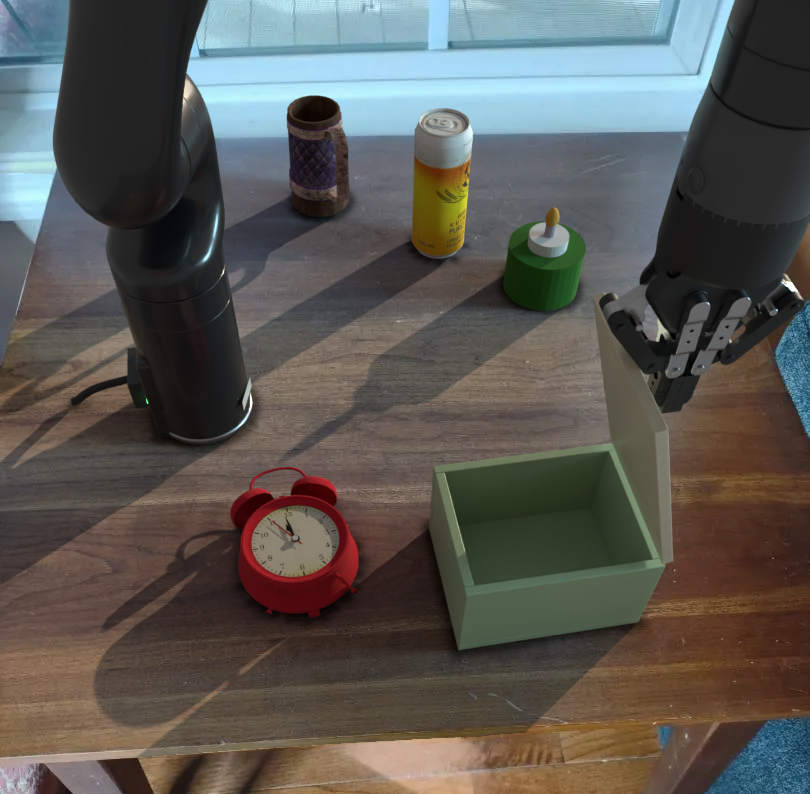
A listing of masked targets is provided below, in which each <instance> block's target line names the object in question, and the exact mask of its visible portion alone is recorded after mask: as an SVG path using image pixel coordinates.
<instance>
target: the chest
mask: <svg viewBox="0 0 810 794" xmlns="http://www.w3.org/2000/svg"><path fill="white" fill-rule="evenodd" d="M428 529H429V533H430V539H431V541H432V546H433V550H434V554H435V559H436V562H437V567H438V571H439V575H440V579H441V584H442V588H443V592H444V596H445V600H446V605H447V609H448V613H449V617H450V621H451V622H450V623H451V625H452V629H453V634H454V638H455V642H456V646H457V650H458V651H463V650H467V649H475V648H480V647H487V646H494V645H501V644H506V643H514V642H518V641H528V640H532V639H539V638H540V639H541V638H546V637H552V636H558V635H565V634H572V633H578V632H579V633H580V632H584V631H590V630H592V631H593V630H597V629H604V628H611V627H616V626H623V625H629V624H637V623H639V621H640V619H641V617H642V615H643V613H644V611H645V609H646V607H647V605H648V603H649V601H650V599H651V597H652V595H653V593H654V591H655V589H656V587H657V585H658V583H659V580H660V578H661V577H662V574H663V572H664V571H665V568H666V563H665V564H662V563H661V560H660V558H659V555H658V553H657V551H656V548H655V546H654V543H653V541H652V538H651V536H650V534H649V531H648V529H647V526H646V524H645V522H644V519H643V517H642V514H641V512H640V509H639V507H638V505H637V502H636V500H635V497H634V495H633V492H632V490H631V488H630V485H629V483H628V480H627V478H626V476H625V473H624V471H623V468H622V466H621V463H620V461H619V459H618V456H617V454H616V451H615V449H614V447H613V444H612V442H611V443H602V444H593V445H587V446H580V447H572V448H564V449H563V448H562V449H555V450H547V451H541V452H533V453H523V454H518V455H517V454H516V455H510V456H502V457H494V458H487V459H486V458H485V459H479V460H469V461H463V462H455V463H447V464H440V465H434V466H433V467H432V481H431V494H430V510H429V525H428Z"/></svg>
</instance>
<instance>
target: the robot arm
mask: <svg viewBox="0 0 810 794" xmlns="http://www.w3.org/2000/svg"><path fill="white" fill-rule="evenodd" d="M68 1H69V2H68V17H67V31H66V41H65V49H64V54H63V62H62V70H61V77H60V84H59V90H58V97H57V103H56V110H55V116H54V122H53V131H52V151H53V157H54V162H55V165H56V168H57V171H58V174H59V177H60V179H61V182H62V183H63V185H64V187H65V189H66V190H67V192H68V193H69V194H70V196H71V198H72V199H73V200H74V202H75V203H76V204H77V205H78V206H79V207H80V209H82V211H84V212H85V213H86V214H87V215H89V216H90V217H91V218H93V219H94V220H95V221H97V222H99V223H100V224H102V225H105V226H107V227H108V229H107V234H106V235H107V236H106V239H105V240H106V241H105V253H106V259H107V263H108V266H109V269H110V273H111V275H112V276H111V277H112V279H113V282H114V284H115V287H116V290H117V293H118V296H119V300H120V303H121V306H122V309H123V311H124V315H125V318H126V321H127V324H128V325H127V326H128V327H129V331H130V334H131V338H132V341H133V343H134V344H133V345H134V346H135V347H134V346H133V347H128V348H127V349H126V355H127V357H126V358H127V360H126V362H127V363H126V365H127V366H126V368H127V369H126V375H123V376H119V377H115V378H111V379H108V380H104V381H101V382H97V383H95V384H92V385H90V386H88V387H85V388H84V389H83V390H81V391H80V392H79V393H78V394H76V395H75V396H71V399H70V403H71V404H70V405H72V406H78V405H79V404H82V403H83V402H84V401H86V399H88V398H89V397H91V396H92V395H95V394H96V393H100V392H102V391H105V390H108V389H111V388H116V387H120V386H124V385H127V388H128V391H129V394H130V397H131V400H132V404H133V405H134V408H135V409H144V408H149V411H150V415H151V417H152V420H153V423H154V426H155V429H156V432H157V435H158V438H161V439H163V438H171V439H173V440H175V441H178V442H180V443H183V444H187V445H193V446H194V445H195V446H198V445H199V446H202V445H211V444H216V443H220V442H222V441H225V440H227V439H230V438H231V437H233V436H235V435H236V434H237V433H239V432H240V431H241V430H243V428H245V426H246V425H247V424H248V422H249V420H250V419H251V417H252V413H253V407H254V406H253V404H254V403H253V397H252V393H251V390H252V380H251V378H249V379H248V376H247V370H246V366H245V365H246V364H245V360H244V355H243V349H242V344H241V338H240V334H239V333H240V332H239V328H238V322H237V317H236V311H235V307H234V301H233V294H232V290H231V285H230V279H229V274H228V268H227V263H226V258H225V253H224V235H225V234H224V233H225V225H226V211H225V202H224V195H223V186H222V180H221V179H222V178H221V172H220V171H221V170H220V164H219V157H218V150H217V144H216V143H217V142H216V139H215V138H216V137H215V132H214V128H213V123H212V119H211V116H210V112H209V110H208V107H207V104H206V101H205V100H204V97H203V95H202V93H201V92H200V90H199V87H198V86H197V85H196V83H195V82H194V80H193V79H192V78H191V76H190V75H189V74H188V67H189V63H190V59H191V55H192V49H193V46H194V43H195V39H196V36H197V33H198V30H199V27H200V24H201V22H202V19H203V17H204V14H205V11H206V9H207V6H208V2H209V0H68ZM732 3H733V4H732V5H731V9H730V12H729V15H728V18H727V21H726V25H725V27H724V31H723V34H722V38H721V41H720V43H719V48H718V50H717V53H716V57H715V60H714V64H713V66H712V69H711V70H712V71H711V73H710V77H709V79H708V83H707V85H706V88H705V89H704V92H703V95H702V97H701V99H700V101H699V103H698V105H697V107H696V109H695V112H694V114H693V117H692V120H691V123H690V125H689V129H688V132H687V135H686V139H685V141H684V145H683V147H682V151H681V154H680V158H679V161H678V165H677V169H676V171H675V175H674V177H673V181H672V184H671V188H670V191H669V194H668V197H667V201H666V204H665V208H664V211H663V214H662V217H661V221H660V224H659V227H658V231H657V238H656V245H655V253H654V254H653V257H652V258H651V260H650V261H649V263H648V264H647V265H646V266H645V267H644V268H643V270H642V271H641V273H640V276H639V281H638V282H639V284H638V285H636V286H635V287H634V288H632V289H630V290H629V291H628V292H626V293H624V294H623V295H622V296H620V297H619V295H618V294H617V293H615V292H608V293H605V295H604V296H603V297H602V298H601V299H600V301H599V306H600V308H601V310H602V312H603V315H604V317H605V319H606V321H607V323H608V325H609V328H610V330H611V332H612V334H613V335H614V336H615V337H616V339H617V340H618V341H619V342H620V344H621V345H622V346H623V348H624V349H625V350H626V351H627V353H628V354H629V355H630V356H631V358H632V359H633V360H634V362H635V363H636V364H637V365H638V367H639V368H640V370H641V372H642V374H643V375H647V376H648V378H647V380H646V382H647V385H648V387H649V389H650V391H651V393H652V395H653V397H654V399H655V402H656V404H657V406H658V408H659V410H660V412H661V414H662V415H663V414H669V413H670V414H671V413H678V412H681V411H682V409H683V406H684V405H686V404H688V403H689V402H690V400H691V399H692V398H693V395H694V392H695V390H696V387H697V385H698V383H699V381H700V378H701V376H702V375H704V374H705V373H706V372H707V371H708V370H709V369H710V367H711V365H713V364H716V363H719V362H720V364H721V365H723V366H728V365H731V364H733V363H735V362H736V361H737V360H738V359H740V358H741V357H743V356H744V355H745V354H747V353H748V352H749V351H750V350H752V349H753V348H754V347H755V346H757V345H758V344H760V343H761V342H762V341H763V340H765V339H766V338H767V337H768V336H770V335H771V334H772V333H774V332H775V331H776V330H777V329H779V328H780V327H781V326H783V325H784V324H785V323H787V322H788V321H789V320H791V319H792V318H793V317H794V316H796V315H798V313H800V312H801V311H802V310H803V309H804V308H805V305H806V302H805V301H806V300H804V298H803V297H802V295H801V293H800V292H799V291H798V289H797V287H796V286H795V285H794V282H793V281H792V280H791V278H790V277H789V275H788V274H786V272H787V271H788V269H789V267H790V266H791V264H792V262H793V260H794V257H795V255H796V253H797V251H798V248H799V247H800V244H801V242H802V240H803V238H804V236H805V234H806V231H807V230H808V227H809V225H810V0H733V2H732ZM648 306H650V308H651V309H652V311H653V313H654V314H655V316H656V323H657V335H656V338H655V340H651V339H650V338H649V336H648V335H647V333H646V332H645V331H644V330H643V329H644V325H643V323H644V322H645V320H646V315H645V310H646V308H647V307H648ZM742 326H744V328H745V330H744V331H743V332H742V333H741V334H740V335H739V336H737V337H736V338H735V339H733V340H732V339H731V338H732V336H733V334H734V333H735V332H736V331H737V330H739V329H741V327H742Z"/></svg>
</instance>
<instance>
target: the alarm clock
mask: <svg viewBox="0 0 810 794" xmlns="http://www.w3.org/2000/svg"><path fill="white" fill-rule="evenodd" d="M286 470H288V471H295V472H297V473H299V474H301V476H303V477H301V478H298V479H296V480H295V481H294V482H293V484H292V485H291V488H290V495H284V494H283V495H278V497H277V498H274V497H273V495H272V494H271V492H270V491H268V490H266V489H265V488H262V487H256V488H253V486H254V483H255V481H256V480H258V479H259V478H260V477H262V476H264V475H266V474H270V473H274V472H278V471H286ZM336 488H337V487H336V486H335V485H334V484H333V483H332V482H331V481H330V480H328V479H326V478H324V477H320V476H315V475H309V476H307V474H306V473H305V472H304V471H303V470H301V469H300V468H297V467H295V466H280V467H275V468H271V469H267V470H264V471H262V472H259V473H258V474H257V475H255V476H254V477H253V478H252V479H251V481H250V483H249V490H247V491H244V492H243V493H241V494H240V495H239V496H238V497H237V498H236V499H235V500H233V501H234V502H233V503H232V505H231V506H230V512H229V515H230V519H231V521H232V523H233V525H234V526H235V527H236V528H237V529H238V530H242V533H241V535H240V539H239V549H240V552H239V555H238V558H237V559H238V560H237V566H238V574H239V577H240V582H241V584H242V586H243V587H244V589H245V591H246V592H247V594H249V596H250V597H251V598H252V599H253V600H255V602H257V603H259V604H260V605H261V606H264V607H265V608H267V609H266V615H271V614H272V613H273V611H276V612H278V613H284V614H307V615H308V618H309V619H311V618H315V617H319V616H321V612H320V610H321V609H323V608H326V607H328V606H331V604H333V603H335V602H337V600H339V599H340V598H341V597H343V595H344V594H345V593H347V591H348V590H350V592H351V593H352V594H356V593H357V591H358V590H357V588H356V587H354V588H353V587H352V584H353V582H354V581H355V579H356V576H357V573H358V569H359V550H358V546H357V543H356V541H355V539H354V537H353V535H352V534H351V531H350V526H349V525H348V523H347V521H346V519H345V518H344V516H343V515H342V514H341V512H340V511H339V510H338V509H337V508H336V507H335V506H336V504H337V501H338V490H337V489H336Z"/></svg>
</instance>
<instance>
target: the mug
mask: <svg viewBox="0 0 810 794" xmlns="http://www.w3.org/2000/svg"><path fill="white" fill-rule="evenodd" d="M343 127H344V126H343V115H342V111H341V106H340V104H339V103H338V102H337V101H336V100H335V99H333V98H331V97H328V96H324V95H318V94H315V95H314V94H313V95H312V94H309V95H305V96H300V97H298V98H296V99H294V100H293V101H292V102H290V103H289V105H288V106H287V109H286V129H287V136H288V137H287V139H288V153H289V169H288V172H289V173H288V179H289V188H290V190H291V203H292V205H293V206H294V208H295V209H296V210H297V211H298V212H300V213H301V214H303V215H306V216H309V217H313V218H327V217H332V216H334V215H336V214H339V213H340V212H341V211H342V210H343V209H345V208H346V207H347V206H348V204H349V202H350V199H349V198H350V197H349V196H350V174H349V146H348V140H347V135H346V133H345V130H344V129H343Z"/></svg>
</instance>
